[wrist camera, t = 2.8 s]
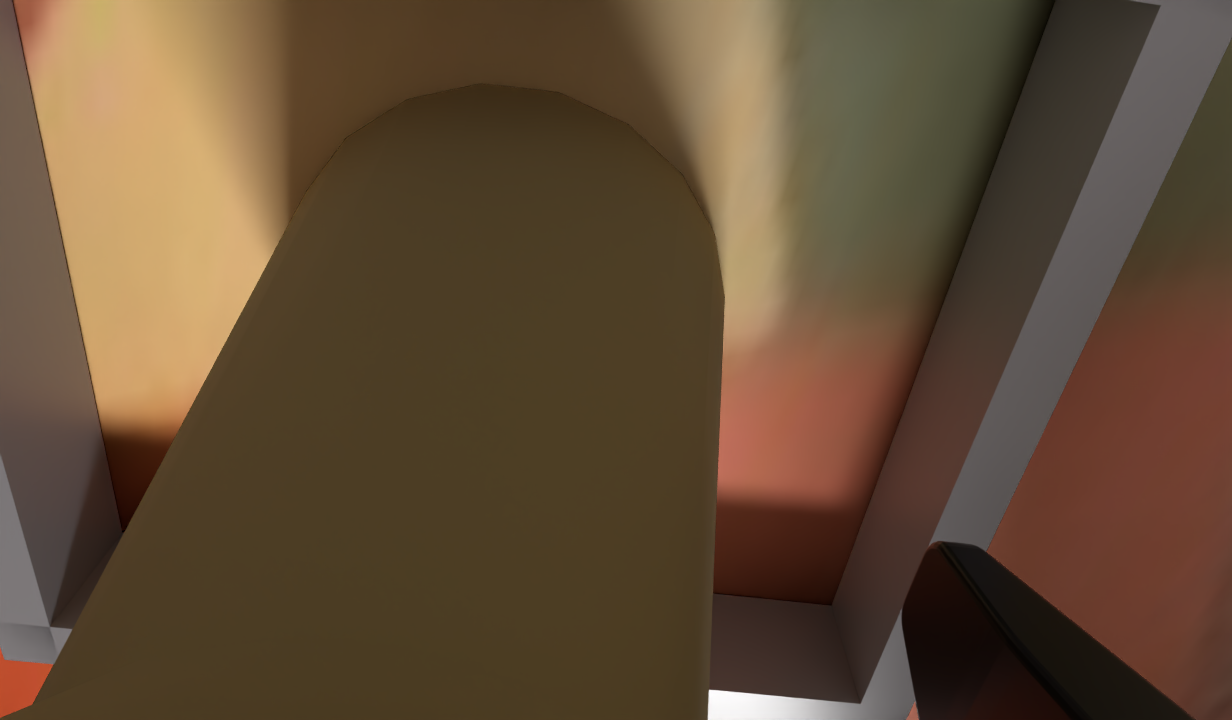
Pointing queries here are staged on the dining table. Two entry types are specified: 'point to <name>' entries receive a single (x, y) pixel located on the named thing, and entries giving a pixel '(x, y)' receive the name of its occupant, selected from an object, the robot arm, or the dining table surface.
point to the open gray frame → (924, 440)
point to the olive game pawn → (439, 448)
